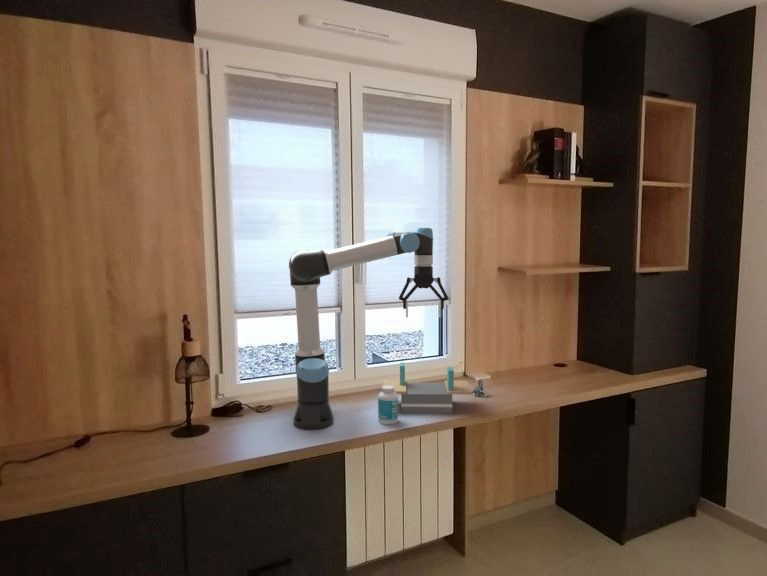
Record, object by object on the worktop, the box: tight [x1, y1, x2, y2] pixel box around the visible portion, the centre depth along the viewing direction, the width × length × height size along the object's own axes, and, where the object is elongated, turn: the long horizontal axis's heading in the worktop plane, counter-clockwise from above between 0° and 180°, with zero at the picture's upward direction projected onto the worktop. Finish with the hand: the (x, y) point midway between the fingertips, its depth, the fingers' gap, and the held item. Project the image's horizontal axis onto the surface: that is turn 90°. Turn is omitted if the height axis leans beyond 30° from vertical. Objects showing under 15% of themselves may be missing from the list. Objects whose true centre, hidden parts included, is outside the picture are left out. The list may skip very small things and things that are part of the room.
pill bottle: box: [377, 385, 399, 426], centre depth 191 cm, size 8×7×14 cm
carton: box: [400, 382, 453, 415], centre depth 208 cm, size 20×16×8 cm
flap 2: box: [443, 366, 473, 396], centre depth 206 cm, size 10×16×9 cm, turn 178°
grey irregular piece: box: [472, 378, 491, 399], centre depth 222 cm, size 9×9×8 cm
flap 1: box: [382, 362, 407, 395], centre depth 207 cm, size 10×16×9 cm, turn 178°
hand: (423, 317), depth 209 cm, fingers open, 13 cm apart
